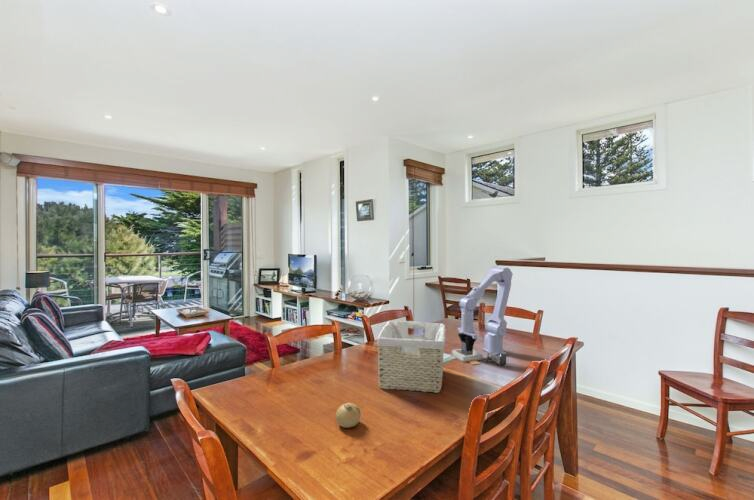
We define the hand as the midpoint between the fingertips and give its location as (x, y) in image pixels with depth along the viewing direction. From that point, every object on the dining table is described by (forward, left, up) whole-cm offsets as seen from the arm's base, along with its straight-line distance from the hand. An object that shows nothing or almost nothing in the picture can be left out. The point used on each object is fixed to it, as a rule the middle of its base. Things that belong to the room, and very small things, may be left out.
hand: (467, 349), depth 174 cm
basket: (+17, -36, -4) cm, 40 cm away
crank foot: (+8, +8, -4) cm, 12 cm away
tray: (0, 0, -4) cm, 4 cm away
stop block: (0, 0, -2) cm, 2 cm away
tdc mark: (+8, -1, -4) cm, 9 cm away
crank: (+12, +8, -3) cm, 15 cm away
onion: (+43, -70, -4) cm, 82 cm away
